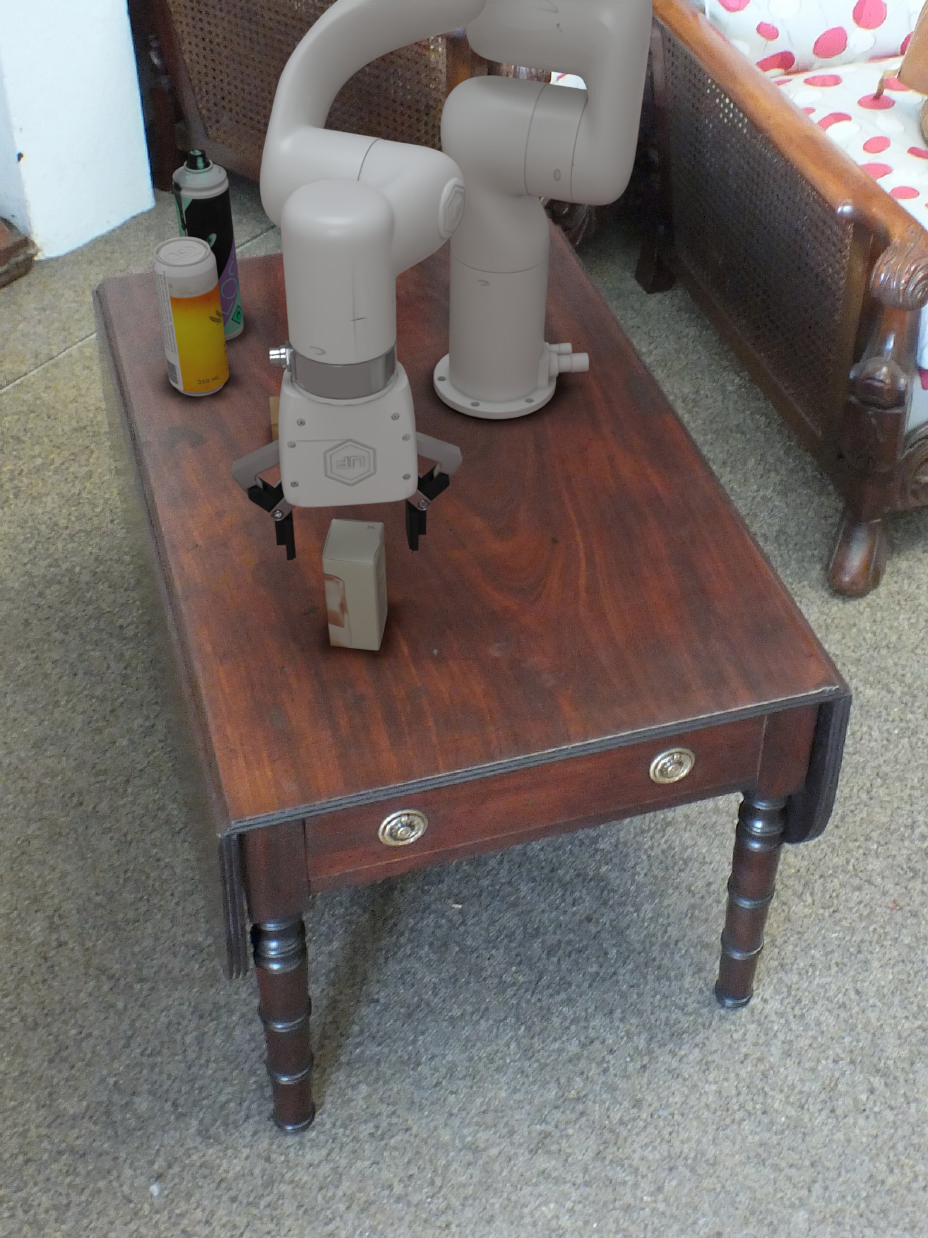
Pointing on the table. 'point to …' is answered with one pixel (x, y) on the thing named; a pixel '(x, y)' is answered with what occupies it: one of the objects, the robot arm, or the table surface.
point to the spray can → (211, 227)
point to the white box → (355, 583)
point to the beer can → (190, 315)
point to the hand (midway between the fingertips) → (351, 544)
